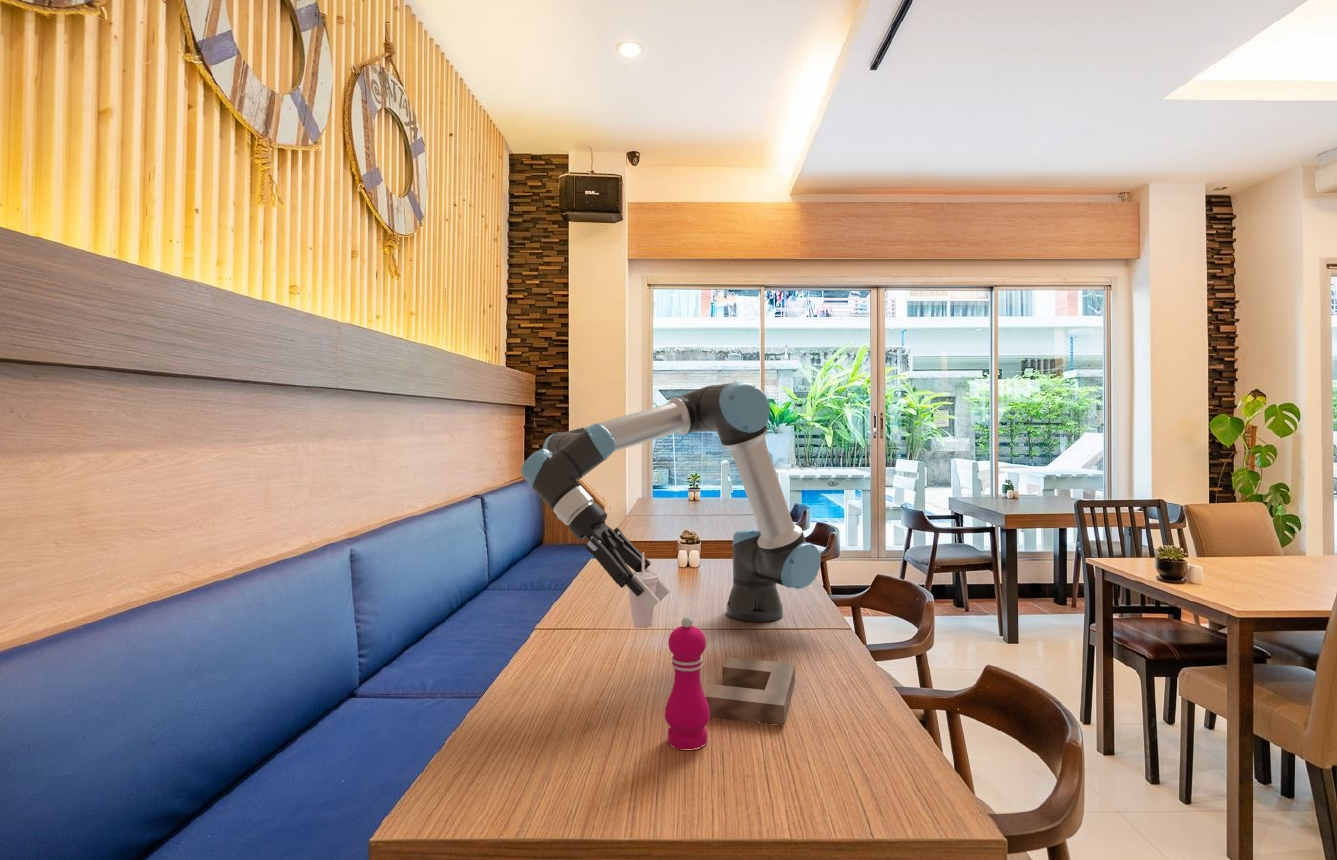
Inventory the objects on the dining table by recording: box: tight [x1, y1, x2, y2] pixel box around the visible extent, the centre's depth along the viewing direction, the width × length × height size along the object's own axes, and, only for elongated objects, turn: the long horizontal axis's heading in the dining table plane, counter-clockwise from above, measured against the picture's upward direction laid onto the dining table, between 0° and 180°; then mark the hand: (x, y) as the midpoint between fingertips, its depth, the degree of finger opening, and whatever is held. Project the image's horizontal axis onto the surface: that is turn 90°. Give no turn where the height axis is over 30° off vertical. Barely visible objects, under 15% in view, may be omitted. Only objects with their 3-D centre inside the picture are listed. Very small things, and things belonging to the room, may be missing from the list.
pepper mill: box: [664, 616, 711, 750], centre depth 102 cm, size 7×7×20 cm
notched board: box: [705, 656, 796, 726], centre depth 119 cm, size 14×20×4 cm
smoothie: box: [627, 551, 659, 629], centre depth 124 cm, size 6×6×14 cm
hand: (660, 601), depth 123 cm, fingers closed on smoothie, 6 cm apart
